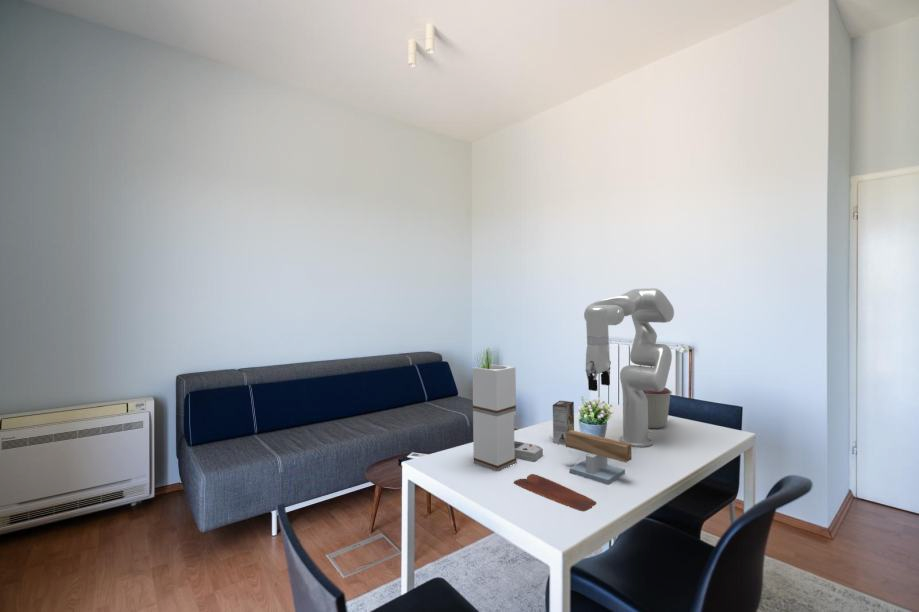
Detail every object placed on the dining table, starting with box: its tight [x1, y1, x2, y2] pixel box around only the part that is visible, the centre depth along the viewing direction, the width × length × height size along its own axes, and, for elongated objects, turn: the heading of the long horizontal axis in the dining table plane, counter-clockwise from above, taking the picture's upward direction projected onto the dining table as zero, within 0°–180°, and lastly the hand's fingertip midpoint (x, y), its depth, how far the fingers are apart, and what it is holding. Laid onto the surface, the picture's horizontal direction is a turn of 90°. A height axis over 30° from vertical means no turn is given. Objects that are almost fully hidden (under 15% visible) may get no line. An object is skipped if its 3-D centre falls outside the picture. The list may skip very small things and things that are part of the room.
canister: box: [643, 387, 673, 429], centre depth 200 cm, size 18×18×21 cm
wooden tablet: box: [513, 473, 597, 512], centre depth 132 cm, size 27×10×2 cm, turn 39°
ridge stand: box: [568, 453, 626, 486], centre depth 146 cm, size 12×14×7 cm
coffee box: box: [552, 400, 575, 446], centre depth 179 cm, size 9×6×16 cm
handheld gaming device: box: [514, 440, 544, 462], centre depth 164 cm, size 9×15×4 cm, turn 57°
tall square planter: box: [471, 363, 518, 472], centre depth 156 cm, size 11×11×35 cm
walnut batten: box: [565, 430, 633, 463], centre depth 146 cm, size 4×22×5 cm, turn 44°
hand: (599, 387), depth 156 cm, fingers open, 9 cm apart
